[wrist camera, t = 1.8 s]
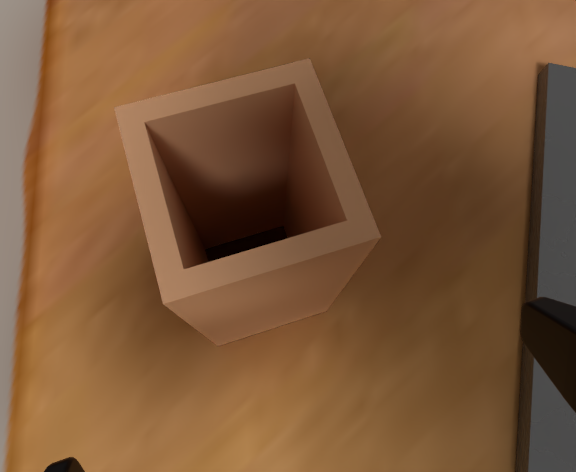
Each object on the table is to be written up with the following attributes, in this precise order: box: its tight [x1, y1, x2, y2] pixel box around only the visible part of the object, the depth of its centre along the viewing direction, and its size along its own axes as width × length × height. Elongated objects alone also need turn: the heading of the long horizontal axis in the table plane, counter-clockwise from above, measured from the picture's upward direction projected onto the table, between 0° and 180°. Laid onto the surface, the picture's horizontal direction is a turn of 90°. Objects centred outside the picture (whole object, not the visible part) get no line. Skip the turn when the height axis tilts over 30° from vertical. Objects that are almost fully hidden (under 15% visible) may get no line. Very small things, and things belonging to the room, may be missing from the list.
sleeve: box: [114, 58, 381, 346], centre depth 16 cm, size 5×5×11 cm
